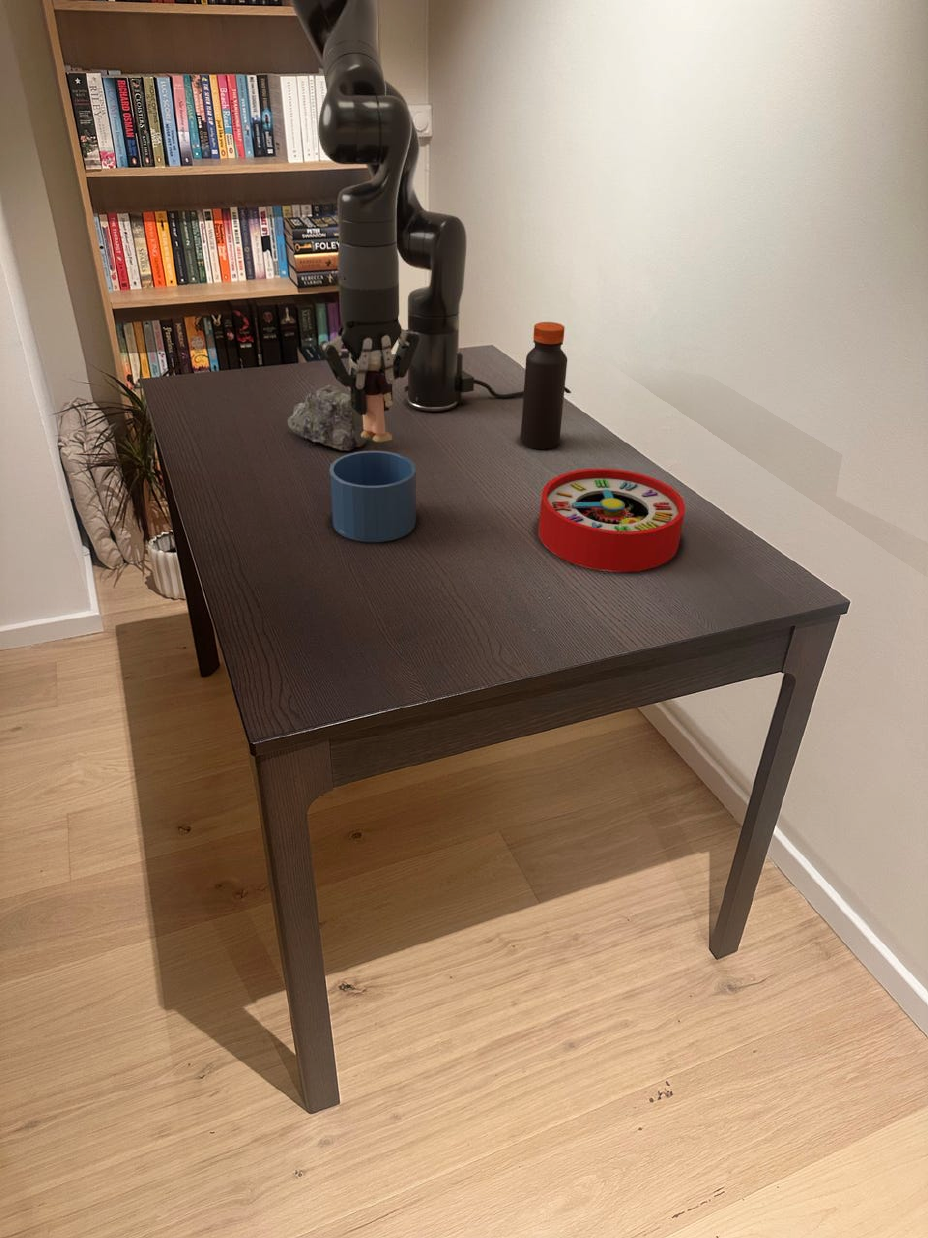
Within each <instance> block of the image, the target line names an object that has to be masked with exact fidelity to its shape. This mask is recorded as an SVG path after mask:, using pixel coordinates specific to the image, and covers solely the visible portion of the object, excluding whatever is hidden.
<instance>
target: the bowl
mask: <svg viewBox="0 0 928 1238" xmlns="http://www.w3.org/2000/svg"><path fill="white" fill-rule="evenodd" d="M328 469H329V470H328V472H329V473H328V474H329V488H330V505H331V506H330V507H331V520H332V527H333V528H334V530H335V531H336V532H337V533H338V534H339V535H341V536H342V537H345V538H346V539H349V540H352V541H356V542H363V543H383V542H389V541H395V540H398V539H400V538H403V537H405V536H407V535H408V534H409V533H411V532H412V531H413V530H414V528H415V526H416V523H417V467H416V465H415V462H413V461H412V460H411V459H410V458H408V457H406V456H404V455H402V454H399V453H395V452H391V451H385V450H363V451H362V450H361V451H356V452H351V453H348V454H344V455H342V456H340V457H338V458H337V459H335V460H334V461H332V463H331V464H330V467H329V468H328Z"/></svg>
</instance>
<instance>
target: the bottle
mask: <svg viewBox="0 0 928 1238" xmlns="http://www.w3.org/2000/svg"><path fill="white" fill-rule="evenodd" d="M565 329H566V328H565V326H564V325H563V324H561V323H558V322H553V321H540V322H537V323H535V324H534V326H533V335H532V336H533V337H532V339H533V341H532V342H533V343H534V347H533V348H532V349H530V351H528V352H527V354H526V357H525V368H524V382H523V391H524V394H523V395H522V409H521V425H520V436H519V437H520V442H521V444H522V445H524V446H526V448H531V449H533V450H534V449H535V450H551V449H553V448H555V447H557V446H558V445H559V444H560V440H561V431H562V419H563V411H564V410H563V409H564V399H565V391H564V390H565V387H566V379H567V370H568V369H567V368H568V356H567V355H566V353H565V352H564V351H563V349H562V345H563V344H564V339H565Z"/></svg>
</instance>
